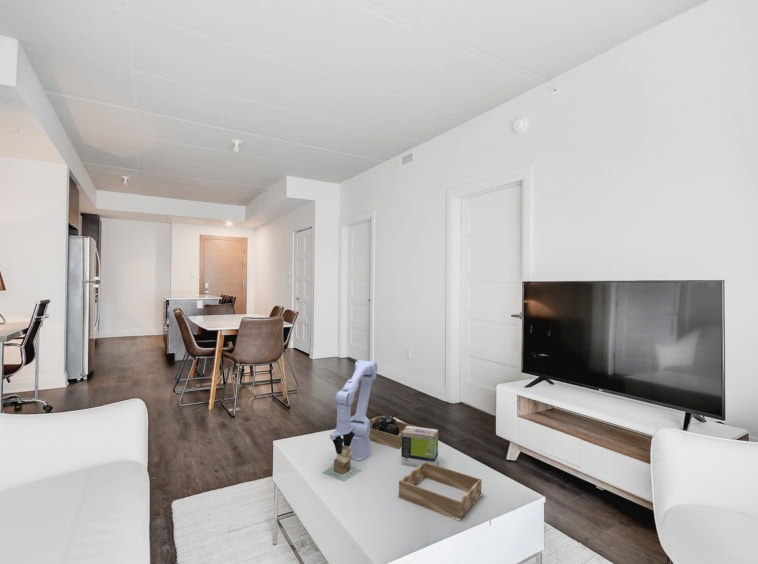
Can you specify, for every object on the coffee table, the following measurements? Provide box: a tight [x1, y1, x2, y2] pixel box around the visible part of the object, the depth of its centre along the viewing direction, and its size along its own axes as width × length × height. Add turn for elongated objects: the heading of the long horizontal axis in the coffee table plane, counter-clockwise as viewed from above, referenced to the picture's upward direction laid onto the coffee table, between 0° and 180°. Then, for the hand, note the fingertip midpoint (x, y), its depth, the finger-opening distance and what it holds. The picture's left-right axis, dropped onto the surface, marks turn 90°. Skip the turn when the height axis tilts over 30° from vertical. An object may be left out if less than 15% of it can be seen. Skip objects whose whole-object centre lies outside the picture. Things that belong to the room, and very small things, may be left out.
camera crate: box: [368, 416, 418, 450], centre depth 207 cm, size 19×25×6 cm
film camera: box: [372, 415, 400, 436], centre depth 207 cm, size 18×12×10 cm
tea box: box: [400, 425, 439, 468], centre depth 178 cm, size 15×10×15 cm
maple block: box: [336, 444, 353, 463], centre depth 167 cm, size 4×4×5 cm
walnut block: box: [333, 457, 351, 475], centre depth 167 cm, size 5×5×5 cm
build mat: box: [321, 465, 363, 482], centre depth 167 cm, size 12×12×1 cm
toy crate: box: [398, 462, 483, 519], centre depth 150 cm, size 21×25×6 cm
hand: (342, 451), depth 168 cm, fingers open, 5 cm apart
